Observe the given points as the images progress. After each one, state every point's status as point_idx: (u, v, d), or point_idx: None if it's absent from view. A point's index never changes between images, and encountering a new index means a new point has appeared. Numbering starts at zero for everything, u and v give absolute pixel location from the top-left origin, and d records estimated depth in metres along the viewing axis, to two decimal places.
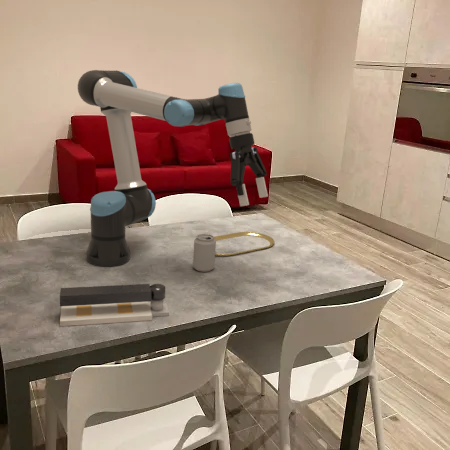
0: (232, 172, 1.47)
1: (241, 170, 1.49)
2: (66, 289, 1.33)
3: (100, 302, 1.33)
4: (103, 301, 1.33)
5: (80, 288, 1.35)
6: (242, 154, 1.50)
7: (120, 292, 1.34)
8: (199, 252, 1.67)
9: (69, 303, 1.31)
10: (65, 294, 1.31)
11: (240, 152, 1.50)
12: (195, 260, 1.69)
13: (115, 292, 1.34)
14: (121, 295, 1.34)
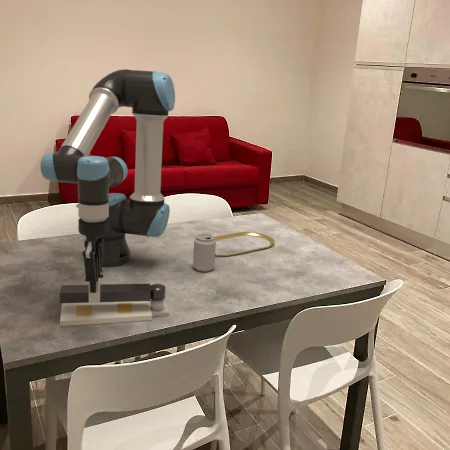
0: None
1: None
2: (67, 286, 1.35)
3: None
4: (102, 299, 1.34)
5: (81, 286, 1.36)
6: None
7: (119, 291, 1.35)
8: (199, 252, 1.67)
9: (69, 300, 1.32)
10: (65, 291, 1.32)
11: None
12: (195, 260, 1.69)
13: (114, 291, 1.34)
14: (120, 294, 1.34)
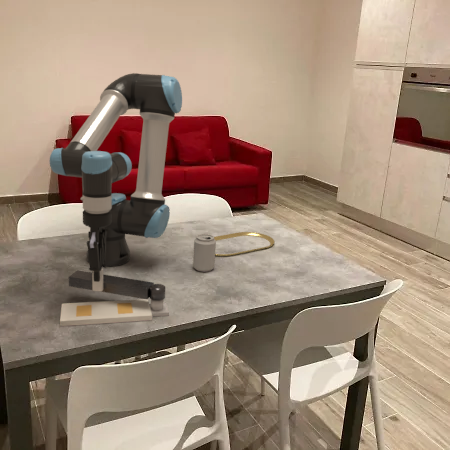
0: None
1: None
2: (80, 272, 1.45)
3: None
4: (104, 289, 1.40)
5: None
6: None
7: (120, 284, 1.39)
8: (199, 252, 1.67)
9: (76, 285, 1.41)
10: (74, 276, 1.42)
11: None
12: (195, 260, 1.69)
13: (116, 283, 1.39)
14: (120, 287, 1.38)
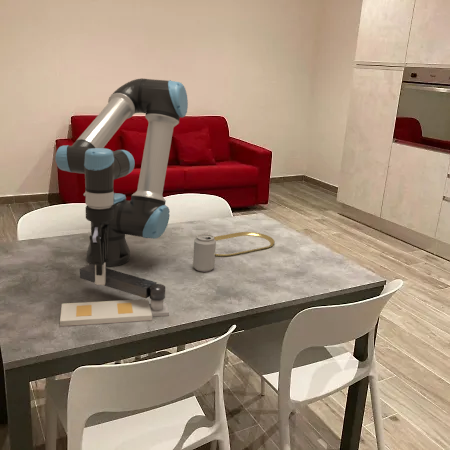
0: None
1: None
2: (92, 265, 1.50)
3: (107, 284, 1.43)
4: (109, 284, 1.43)
5: None
6: None
7: (123, 281, 1.41)
8: (199, 251, 1.67)
9: (86, 277, 1.47)
10: (85, 269, 1.47)
11: None
12: (195, 260, 1.69)
13: (119, 279, 1.42)
14: (122, 283, 1.41)
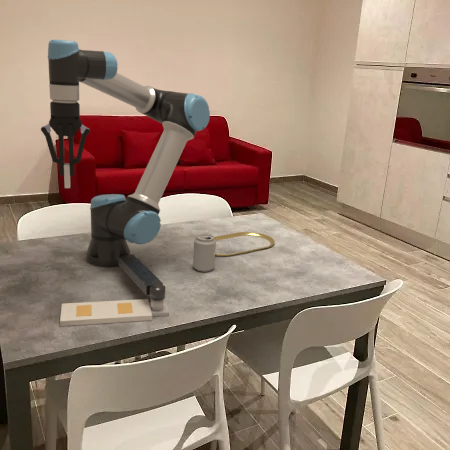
0: (82, 150, 1.37)
1: (73, 147, 1.37)
2: (131, 256, 1.59)
3: (129, 275, 1.51)
4: (130, 275, 1.50)
5: (136, 260, 1.56)
6: None
7: (137, 274, 1.46)
8: (199, 251, 1.67)
9: (120, 265, 1.57)
10: (122, 257, 1.58)
11: None
12: (195, 260, 1.69)
13: (136, 272, 1.47)
14: (136, 277, 1.46)
